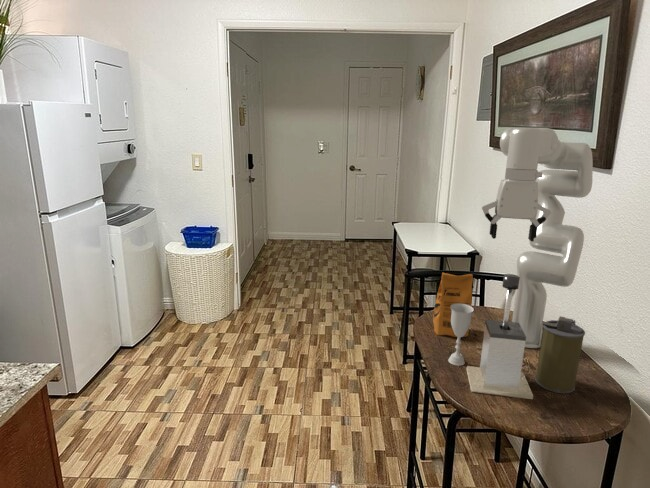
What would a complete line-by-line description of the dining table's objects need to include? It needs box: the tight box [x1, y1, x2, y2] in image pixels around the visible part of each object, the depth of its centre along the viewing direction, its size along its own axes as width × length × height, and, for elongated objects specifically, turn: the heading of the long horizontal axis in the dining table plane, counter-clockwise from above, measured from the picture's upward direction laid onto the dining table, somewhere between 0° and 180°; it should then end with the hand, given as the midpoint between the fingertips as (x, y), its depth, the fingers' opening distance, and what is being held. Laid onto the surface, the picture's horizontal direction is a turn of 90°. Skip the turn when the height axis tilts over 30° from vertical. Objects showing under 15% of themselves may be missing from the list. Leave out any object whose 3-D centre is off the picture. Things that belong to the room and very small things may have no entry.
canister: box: [534, 316, 586, 394], centre depth 124 cm, size 11×10×20 cm
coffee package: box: [432, 272, 474, 338], centre depth 156 cm, size 10×12×22 cm
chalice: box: [447, 303, 474, 367], centre depth 136 cm, size 7×7×18 cm
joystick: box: [465, 319, 534, 400], centre depth 124 cm, size 16×12×17 cm
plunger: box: [502, 273, 520, 330], centre depth 121 cm, size 6×6×22 cm
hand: (511, 238), depth 120 cm, fingers open, 9 cm apart
